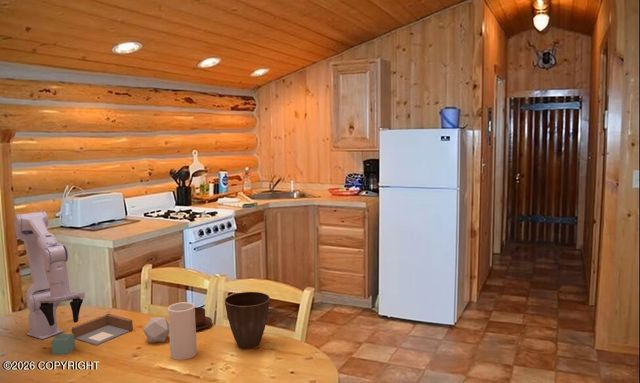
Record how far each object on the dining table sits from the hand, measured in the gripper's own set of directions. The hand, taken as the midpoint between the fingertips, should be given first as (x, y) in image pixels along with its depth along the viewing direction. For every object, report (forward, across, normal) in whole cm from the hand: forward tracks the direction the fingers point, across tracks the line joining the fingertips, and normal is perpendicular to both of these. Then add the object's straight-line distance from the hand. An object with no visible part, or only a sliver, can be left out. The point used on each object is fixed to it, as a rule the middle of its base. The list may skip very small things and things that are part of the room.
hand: (64, 323), depth 169 cm
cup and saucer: (+12, +39, +17) cm, 44 cm away
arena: (+8, +7, +14) cm, 18 cm away
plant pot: (+16, +59, -1) cm, 61 cm away
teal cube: (+9, -2, +1) cm, 10 cm away
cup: (+14, +38, -6) cm, 41 cm away
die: (+12, +28, +6) cm, 31 cm away
